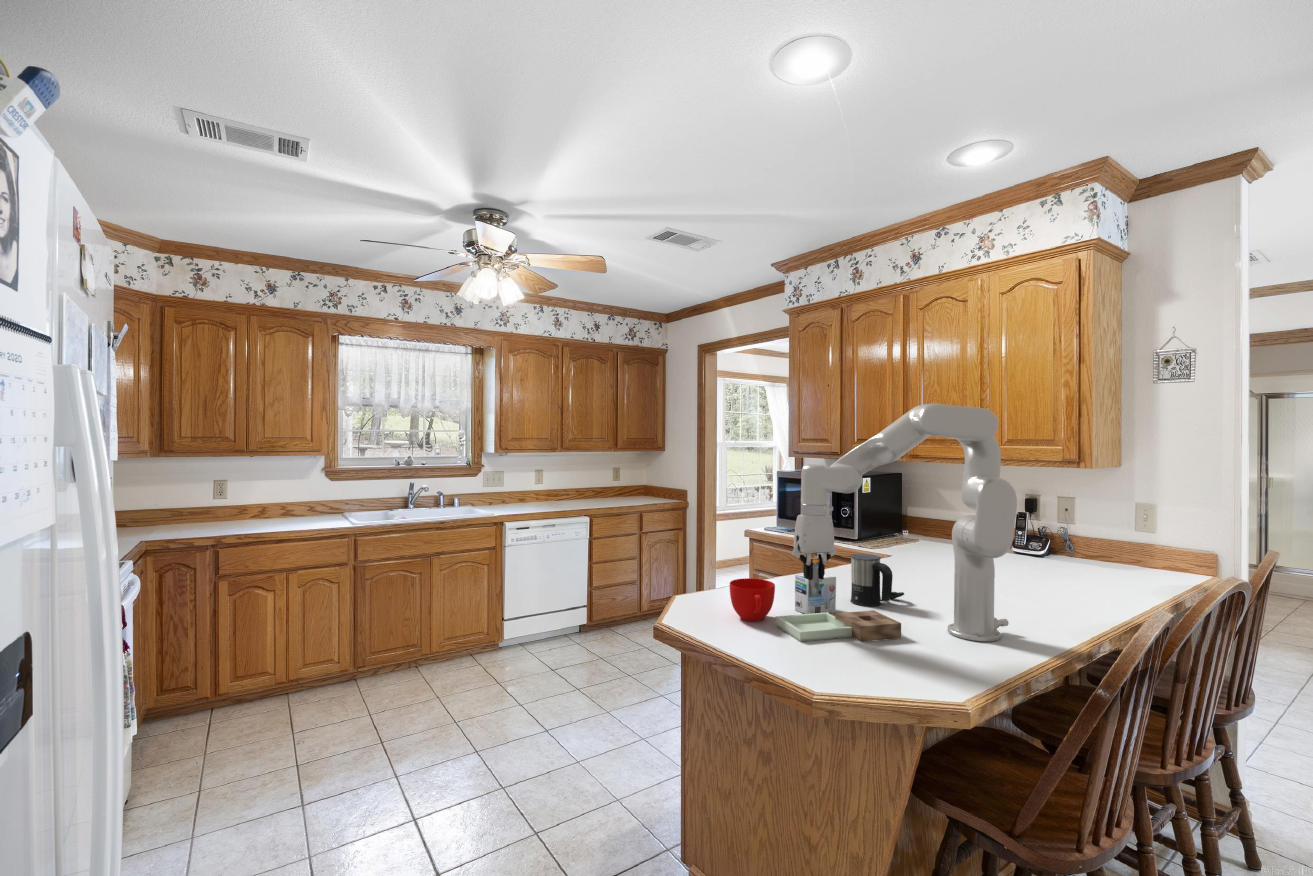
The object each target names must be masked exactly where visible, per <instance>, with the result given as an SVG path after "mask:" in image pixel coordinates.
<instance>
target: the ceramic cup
mask: <svg viewBox="0 0 1313 876" xmlns="http://www.w3.org/2000/svg"><path fill="white" fill-rule="evenodd" d="M775 591H776V585H775V583H774V582H773V581H770V580H767V579H760V578H751V577H750V578H745V577H744V578H737V579H733V580H731V581H729V597H730V600H731V601H730V602H731V605H732V607H733V610H734V612H735V613H736V614H737V615H738V617H739V618H740V619H741V620H743V621H745V620H746V621H745V622H761V621H763V620H764V619H765V618H766V616H768V615H769V613H770V612H771V609H772V607H773V605H774V602H775V601H774V600H775V593H776V592H775Z"/></svg>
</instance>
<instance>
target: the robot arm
mask: <svg viewBox="0 0 1313 876" xmlns="http://www.w3.org/2000/svg"><path fill="white" fill-rule="evenodd" d="M999 423H1000V422H999V419H998V417H997V415H996V414H995V413H994V412H993V411H992V410H989V409H987V408H985V407H974V406H964V405H953V404H943V403H923V404H919V405H917V406H914V407H912V408H911V409H910V410H908V411H907V412H906V413H903V415H902V416H900V417H899V418H897V419H896V420H895V421H893V422H892V423H891V424H889V425H888V426H887V427H885V428H884V429H883V430H881V431H880V432H878V433H877V434H876V435H873V436H871V437H870V438H868V439H867V440H866V441H864V442H863V443H861V444H859V445H858V446H856V447H854V448H853V449H851V450H850V451H848V452H846V453H845V454H844V455H843V456H841V457H840V458H839V459H838V460H836V461H835V462H833V463H832V464H831V465H830V466H828V465H825V464H824V465H823V464H805V465H803V466H802V468H801V474H800V475H801V478H800V479H801V480H800V482H801V483H800V484H801V485H800V489H801V490H800V514H798V515H797V517H796V522H795V524H794V525H795V527H794V534H793V549H792V551H791V555H792V556H794V557H796V558H798V560H800V561H801V563H802V564H803V566H802V567H803V573H802V574H803V575H804V578H806V579H808V580H812V565H811V558H812V554H816V555H817V557H816V558H819V559H820V564H819V579H821V580H822V579H824V574H825V573H826V572H825V570H826V568H825V566H826V564H828V563H827V562H828V561H829V560H830V559H831V558H832V557H833V556H835V555H836V554H837V553H838V552H837V549H836V547H835V532H834V531H835V530H834V524H833V518H832V515H830V514H831V512H833V511H834V506H833V505H831V504H830V503H831V500H830V499H831V495H830V494H831V493H830V492H834V493H842V494H852V493H855V492H856V491H858V490H859V489H860V488H861V487H862V484H863V475H865V474H866V473H868V472H869V471H871V470H873V469H875V468H878V467H880V466H883V465H884V466H885V465H887V464H891V463H893V462H895V461H898V460H899V459H900V458H902V457H903V456H904V455H906V454H907V453H908V452H910V451H912V449H914V448H915V447H917V446H918V445H920V444H921V443H922V442H924V441H925V440H926V439H928V438H929V437H938V438H945V439H954V440H957V441H958V443H959V444H960V445H961V447H962V450H963V452H964V469H963V476H962V485H961V491H960V494H961V495H960V497H961V500H962V503H963V504H964V505H965V506H966V507H967V508H968V509H971V510H973V511H975V514H974V515H973V514H968V515H965V516H962V517H960V518H958V519H957V520H956V521H955V523H954V524H953V527H952V530H951V541H952V546H953V548H952V549H953V556H954V558H953V559H954V577H953V578H954V582H953V583H954V584H953V585H954V589H953V591H954V592H953V593H954V595H953V596H954V597H953V598H954V599H953V602H954V603H953V623H950V624H948V625H947V632H948V633H949V634H950V635H952V636H954V637H957V638H959V639H960V638H961V639H964V640H967V641H968V640H969V641H972V642H973V641H974V642H995V641H999V640H1000V639H1001V638H1002V637H1001V636H1002V634H1001V632H1000V631H999V630H998V628H999V627H1007V626H1009V625H1010V624H1009V620H1008V619H1007V618H999V619H998V618H996V617H995V578H996V576H995V575H996V574H995V573H996V571H995V569H996V567H995V560H994V559H998V558H1001V557H1003V556H1004V555H1006V554H1007V553H1008V551H1009V550H1010V549H1011V546H1012V543H1013V539H1014V533H1015V532H1014V531H1015V527H1016V526H1015V525H1016V516H1017V508H1018V497H1017V493H1016V490H1015V488H1014V487H1013V485H1012V484H1011V483H1010V482H1009V481H1007V480H1005V479H1003V478H1001V463H1002V462H1001V461H1002V456H1001V455H1002V452H1001V448H1000V445H999V442H998V441H997V438H996V437H995V435H996V434H997V433H998V430H999V426H1000V424H999ZM800 552H801V553H800Z"/></svg>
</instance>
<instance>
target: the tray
mask: <svg viewBox="0 0 1313 876" xmlns="http://www.w3.org/2000/svg"><path fill="white" fill-rule="evenodd" d="M774 619H775V621H774V622H775V623H774V624H775V627H777V628H778V629H780V630H781V629H782V631H783V632H784V631H785V633H786V634H787V633H788V635H789V634H790V635H791V636H790V635H789V636H790V637H792V638H793V637H794V639H795V640H796V639H797V640H796V641H798V642H799V641H800V643H803V642H804V641H805V642H813V641H814V640H816V641H825V640H824V639H827V640H834V639H833V638H838V639H846V638H845V637H849V638H852V627H850V626H849V627H847V626H848V625H845V624H843V623H842V622H841V624H840V622H839V621H838V620H837V619H835V615H833V614H831V613H827V612H826V613H813V614H803V613H801V614H791V615H790V614H789V615H777V616H775V618H774ZM836 622H837V623H838V622H839V623H838V624H837V623H836ZM835 623H836V624H837V625H836V624H835ZM841 625H842V627H841ZM843 625H845V626H843ZM837 626H838V627H837ZM805 642H804V643H805Z"/></svg>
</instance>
